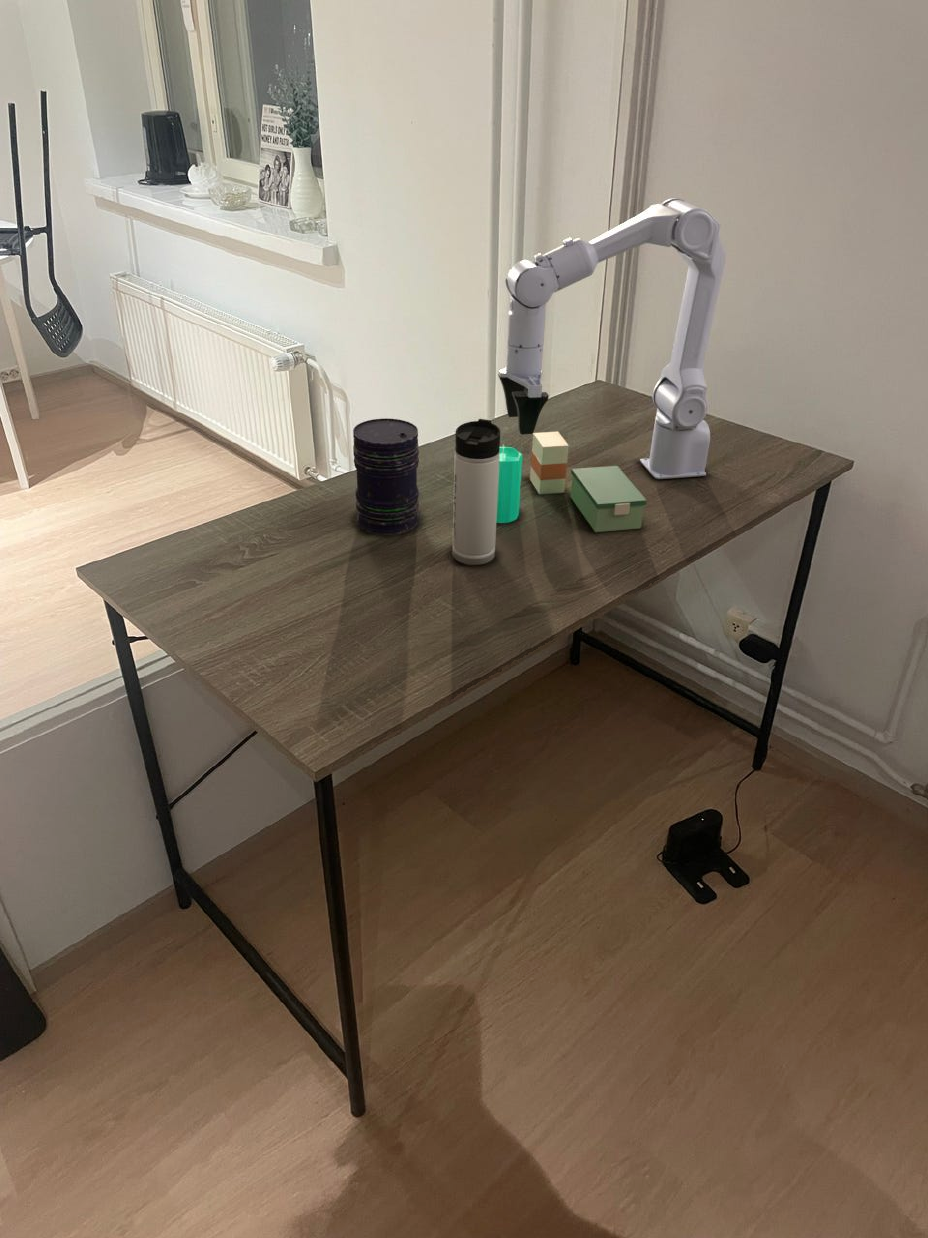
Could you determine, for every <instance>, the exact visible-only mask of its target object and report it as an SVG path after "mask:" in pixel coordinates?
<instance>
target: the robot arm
mask: <svg viewBox="0 0 928 1238" xmlns="http://www.w3.org/2000/svg"><path fill="white" fill-rule="evenodd" d="M720 229H721V224H720V222H719V221H718V220H717V219H716V218H715V216H714V215H712V213H711V212H710V211H709V210H707V209H705V208H702V207H698V206H695V205H693V204H691V203H689V202H688V201H685V200H684V199H682V198H678V197H673V198H668V199H666V200H665V201H663V202H662V203H657V204H653V205H650V207H648V208H646V210H644V211H642V212H641V213H639V214H637V215H636V216H634V217H632V218H630V219H628V220H626V221H625V222H623V223H621V224H619V225H618V226H617V225H616V226H615V227H614V228H612V229H610V230H608V231H606V232H604V233H603V234H601V235H599V236H598V237H595V238H593V239H592V240H590V241H587V240H584V239H583V238H579V237H578V238H575V239H573V238H572V237H567V238H565V239H563V240H562V244H563V245H561V246H558V247H556V248H554V249H552V250H550V251H548V252H546V253H544V254H541V253H537V254H535V255H534V257H533V258H534V261H533V260H527V259H523V260H521V261H520V260H519V261H518V262H516V263H515V264H514V265H512V269H510V270H509V272H508V274H507V277H506V278H505V280H504V283H505V287H506V289H507V291H508V292H509V294H510V295H509V296H510V297H509V311H508V320H507V321H508V323H507V324H508V325H507V342H506V344H507V346H506V360H505V361H506V362H505V367H504V368H500V369H498V374H497V376H498V379H499V381H500V384H501V386H502V390H503V393H504V399H505V406H506V407H505V408H506V412H507V416H508V418H517V424H518V430H519V434H520V435H533V433H535V432H534V431H535V430H536V426H537V422H538V419H539V416H540V413H541V411H542V410H543V408H544V406H545V405H546V403H547V402H548V401H549V397H550V396H549V395H550V394H548V392H547V391H543V384H542V380H543V373H544V372H543V355H544V340H545V329H546V316H547V315H546V307H547V303H548V302H549V301H550V299H552V296H553V294H554V293H557V292H559V291H561V290H563V289H565V288H568V287H570V286H572V285H574V284H576V283H578V282H581V281H582V280H585V279H586V278H588V277H590V276H592V275H593V274H594V272H595V270H596V268H597V266H598V264H599V263H602V262H604V261H606V260H608V259H611V258H614V257H616V256H619V255H621V254H623V253H626V252H628V251H630V250H633V249H635V248H638V247H640V246H642V245H646V244H651V245H656V246H661V247H666V248H671V247H672V248H674V250H676V252H677V253H678V254H679V255H680V257H681V258H682V259H683V260H684V261H685V263H686V264H687V266H688V268H687V273H686V279H685V284H684V290H683V294H682V300H681V304H680V308H679V315H678V321H677V326H676V331H675V336H674V340H673V346H672V350H671V357H670V361H669V363H668V364H667V365H666V366H664V368H663V369H662V370H661V375H660V378H659V380H658V382H657V383H656V385H655V386H654V388H653V391H652V395H651V396H652V402H653V404H654V406H655V408H656V415H655V417H654V426H653V430H652V431H653V432H652V439H651V445H650V453H649V458H647V457H646V458H640V460H639V462H640V463H641V464H642V465H643V466H644V468H645V469H646V470H647V471H648V472H649V474H651V475H652V477H654V479H656V480H668V479H680V478H681V479H682V478H695V477H706V476H707V472H705V470H706V466H707V465H706V464H707V461H708V460H707V459H708V454H709V449H710V444H711V430H710V427H709V425H708V422H707V421H706V420H704V419H705V417H706V415H707V414H708V413H707V412H708V401H707V397H706V395H707V389H708V385H707V382H706V378H705V375H704V372H703V367H704V362H705V358H706V354H707V349H708V344H709V340H710V334H711V330H712V326H713V320H714V315H715V311H716V306H717V302H718V297H719V292H720V288H721V283H722V279H723V275H724V270H725V264H726V252H725V249H724V245H723V241H722V238H721V234H720Z"/></svg>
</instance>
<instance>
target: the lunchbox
mask: <svg viewBox="0 0 928 1238" xmlns="http://www.w3.org/2000/svg"><path fill="white" fill-rule="evenodd" d="M570 474H571V475H572V478H571V488H570V498H571V500H572V502H573V503H574V504H575V506H576V508H578V510H579V511H580V513H581V514H582V515H583V517H584V519H585V520H586V521H587V523H588V524H589V525H590V527H591V528H592V530H593V531H594V533H603V532H614V531H625V530H627V531H628V530H639V529H642V524H643V523H642V522H643V515H644V510H645V506H646V505H647V503H648V502H647V500H648V499H646V498H645V497H644V495H643V494H642V492H640V491H639V489H638V488H637V487H636V486H635V485H634V484H633V482H632V481H631V480H630V479H629V478H628V477H627V475H626V474H625V472H624V471H622V469H621V468H620V467H619V466H618V465H610V466H596V467H595V466H594V467H593V466H592V467H581V468H571V472H570Z"/></svg>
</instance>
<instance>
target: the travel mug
mask: <svg viewBox="0 0 928 1238" xmlns="http://www.w3.org/2000/svg"><path fill="white" fill-rule="evenodd" d="M454 443H455V444H454V445H455V446H454V461H453V462H454V464H453V465H454V466H453V467H454V468H453V508H452V509H453V511H452V513H453V514H452V557H453V559H455V560H456V561H457V562H458V563H461V564H463V565H468V566H481V565H485V564H488V563H490V562H491V561H492V560H494V558H495V555H496V537H497V534H496V533H497V523H496V518H497V498H498V478H499V458H500V456H499V455H500V447H501V429H500V428H499V426H498V425H496V424H495V423H492V420H490V419H485V418H479V419H477V420H472V421H468V422H464V423H462V424H460V425H458V427H457V428H456V430H455V439H454Z"/></svg>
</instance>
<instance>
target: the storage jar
mask: <svg viewBox="0 0 928 1238" xmlns="http://www.w3.org/2000/svg"><path fill="white" fill-rule="evenodd" d="M352 434H353V435H352V437H353V446H352V452H353V453H352V454H353V465H354V468H355V469H356V471H355V472H356V487H355V492H354V496H355V509H356V514H357V516H356V522H357V523H356V524H357V525H358V526H359V527H360V528H361V529H362V530H364V531H365V532H368V533H372V534H375V535H381V536H382V535H384V536H389V535H400V534H403V533H406V532H409V531H411V530H413V529H414V528H415V527H416V526H417V525H418V524H419V509H420V508H419V507H420V497H419V496H420V491H419V490H420V489H419V486H418V485H417V484H418V483H417V482H418V474H417V473H418V472H417V471H418V468H419V463H420V458H419V455H420V446H419V439H418V437H419V429H418V427H417V426H416V425H415V424H413V423H412V422H410V421H406V420H403V419H398V418H375V419H368V420H364V421H362V422H360V423H358V424H356V425H355V426H354V427H353V429H352Z"/></svg>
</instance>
